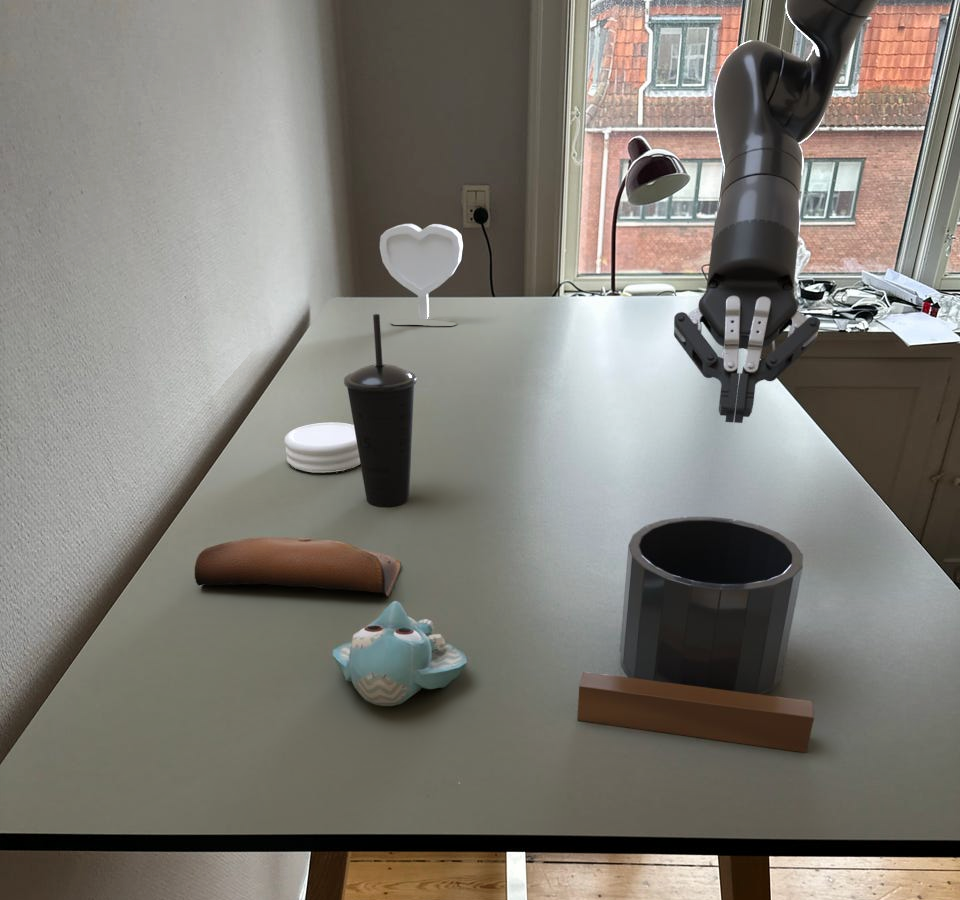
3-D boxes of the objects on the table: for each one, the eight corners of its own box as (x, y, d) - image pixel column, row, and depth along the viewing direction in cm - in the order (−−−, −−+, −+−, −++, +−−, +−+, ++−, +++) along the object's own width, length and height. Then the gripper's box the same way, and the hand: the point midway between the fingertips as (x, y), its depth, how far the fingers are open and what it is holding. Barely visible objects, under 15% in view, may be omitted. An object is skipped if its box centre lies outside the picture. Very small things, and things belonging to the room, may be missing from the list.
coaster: (327, 481, 109) (324, 452, 107) (270, 463, 114) (266, 436, 112) (384, 457, 115) (382, 430, 114) (328, 442, 121) (325, 416, 119)
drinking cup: (376, 482, 108) (364, 304, 98) (433, 492, 105) (427, 310, 95) (340, 504, 102) (323, 318, 92) (399, 516, 99) (389, 325, 89)
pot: (726, 614, 80) (742, 507, 75) (814, 690, 70) (839, 573, 65) (594, 638, 77) (601, 528, 72) (666, 722, 67) (681, 601, 61)
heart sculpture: (383, 325, 181) (377, 226, 172) (389, 320, 186) (383, 223, 176) (460, 327, 179) (458, 227, 170) (464, 321, 183) (463, 223, 174)
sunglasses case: (405, 556, 89) (394, 516, 83) (394, 619, 86) (382, 581, 80) (227, 548, 91) (205, 508, 86) (210, 609, 88) (186, 571, 82)
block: (581, 705, 69) (583, 671, 67) (805, 736, 65) (812, 701, 63) (577, 720, 67) (579, 686, 65) (806, 753, 63) (814, 717, 62)
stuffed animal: (482, 581, 74) (451, 629, 63) (480, 664, 77) (449, 724, 65) (354, 571, 76) (302, 616, 65) (356, 652, 78) (306, 709, 67)
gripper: (680, 215, 81) (656, 392, 77) (839, 217, 78) (822, 400, 74) (679, 269, 88) (657, 434, 84) (824, 273, 85) (808, 443, 81)
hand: (734, 418), depth 79 cm, fingers closed
